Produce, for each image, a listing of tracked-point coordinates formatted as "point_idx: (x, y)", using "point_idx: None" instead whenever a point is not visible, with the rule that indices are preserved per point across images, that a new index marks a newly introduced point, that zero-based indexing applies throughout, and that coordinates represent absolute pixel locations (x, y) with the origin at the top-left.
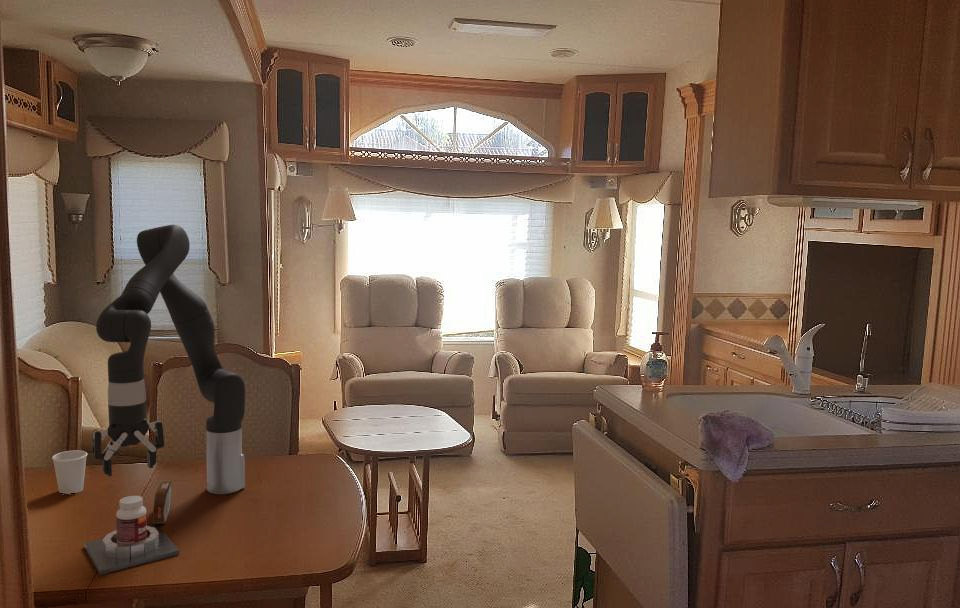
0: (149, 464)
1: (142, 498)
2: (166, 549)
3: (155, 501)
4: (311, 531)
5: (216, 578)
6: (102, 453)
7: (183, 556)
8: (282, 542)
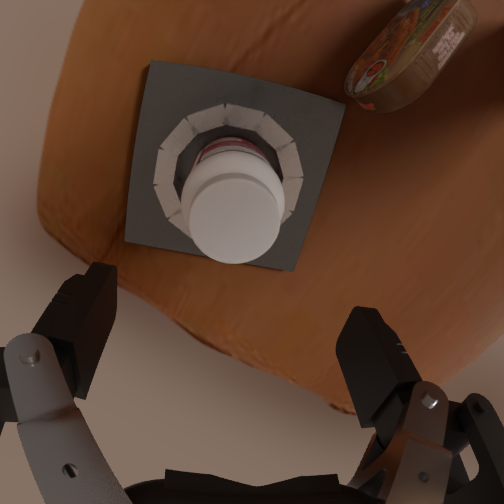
0: (344, 355)
1: (274, 241)
2: (278, 249)
3: (377, 90)
4: (461, 331)
5: (276, 373)
6: (9, 419)
7: (292, 278)
8: (418, 337)
